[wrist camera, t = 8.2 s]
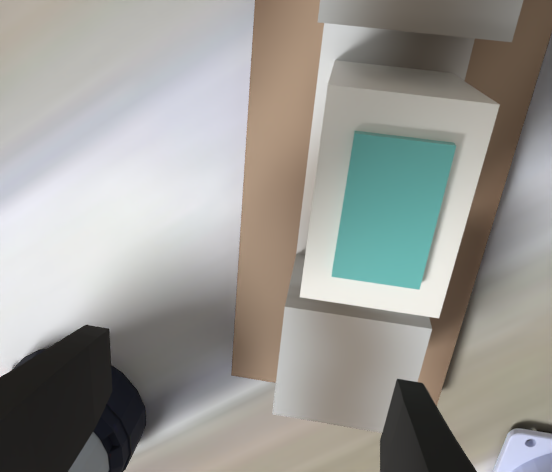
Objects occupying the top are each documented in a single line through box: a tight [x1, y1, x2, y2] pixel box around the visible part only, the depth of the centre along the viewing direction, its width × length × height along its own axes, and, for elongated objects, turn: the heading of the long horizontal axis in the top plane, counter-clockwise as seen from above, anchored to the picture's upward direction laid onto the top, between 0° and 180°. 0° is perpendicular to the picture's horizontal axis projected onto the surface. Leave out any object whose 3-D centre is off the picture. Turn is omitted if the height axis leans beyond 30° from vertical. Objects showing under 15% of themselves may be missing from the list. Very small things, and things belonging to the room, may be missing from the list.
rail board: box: [231, 0, 552, 433], centre depth 17 cm, size 10×24×6 cm, turn 175°
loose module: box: [300, 60, 500, 318], centre depth 15 cm, size 4×6×6 cm, turn 175°
